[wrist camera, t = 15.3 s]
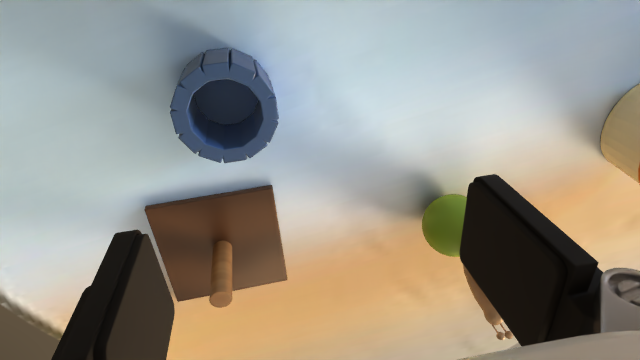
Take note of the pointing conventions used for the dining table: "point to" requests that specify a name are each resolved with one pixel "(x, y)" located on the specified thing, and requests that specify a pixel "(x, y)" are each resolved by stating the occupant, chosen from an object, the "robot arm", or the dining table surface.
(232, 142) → the blue ring
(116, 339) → the robot arm
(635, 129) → the reusable coffee cup
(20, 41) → the dining table surface
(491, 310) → the snail figurine
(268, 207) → the dowel stand
